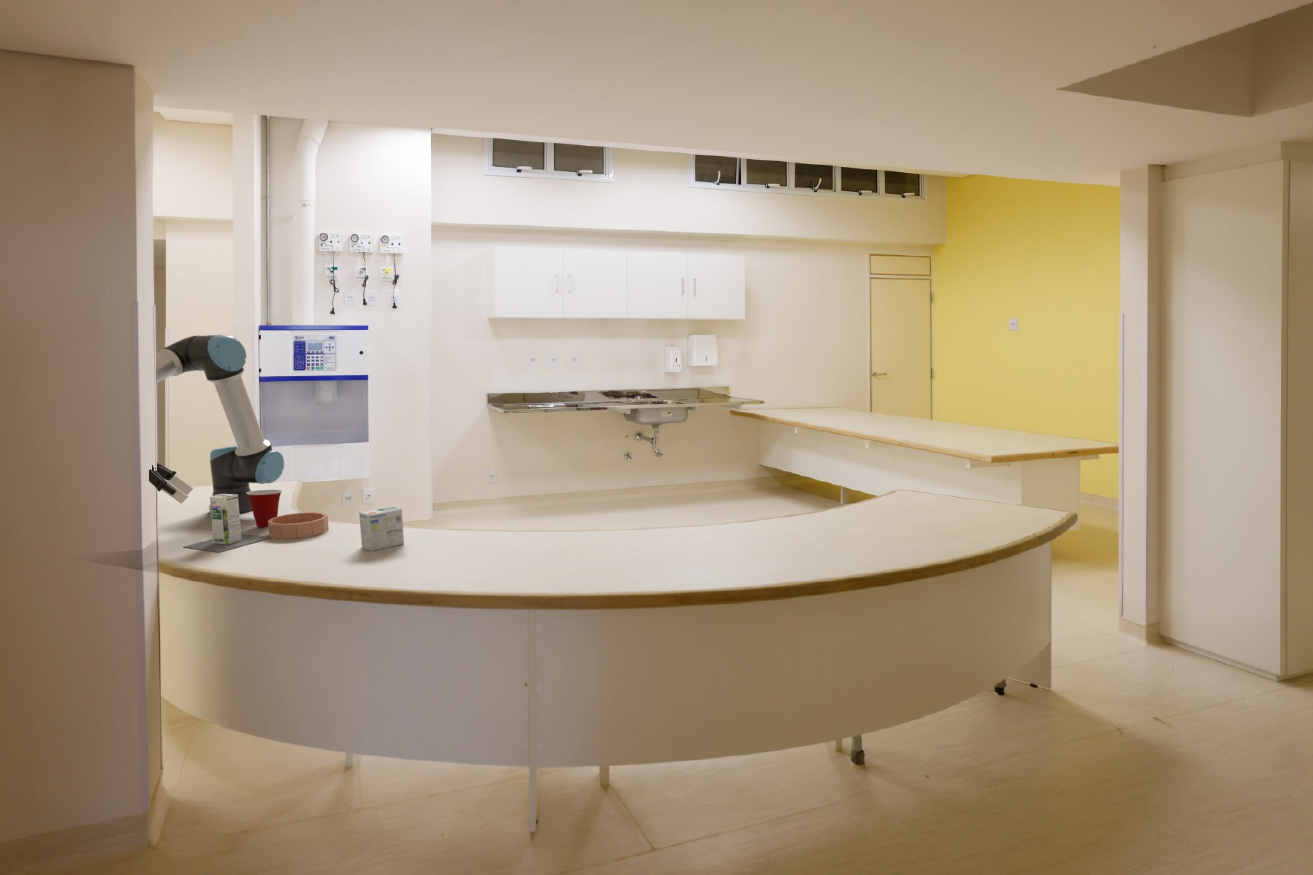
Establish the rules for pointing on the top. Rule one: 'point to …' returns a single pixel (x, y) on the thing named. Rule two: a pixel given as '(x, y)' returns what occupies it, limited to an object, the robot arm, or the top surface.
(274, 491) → the plastic cup
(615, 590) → the top surface
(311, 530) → the ceramic bowl
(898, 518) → the top surface
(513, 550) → the top surface
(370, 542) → the light bulb box
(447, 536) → the top surface
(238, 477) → the robot arm
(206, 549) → the rubber mat
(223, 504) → the syrup box
